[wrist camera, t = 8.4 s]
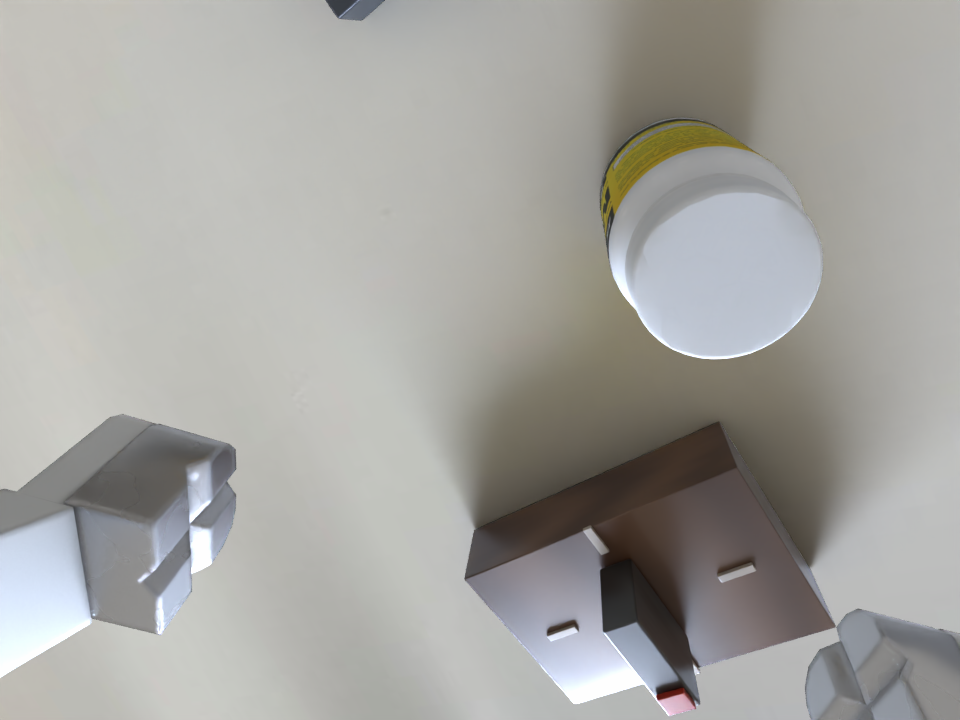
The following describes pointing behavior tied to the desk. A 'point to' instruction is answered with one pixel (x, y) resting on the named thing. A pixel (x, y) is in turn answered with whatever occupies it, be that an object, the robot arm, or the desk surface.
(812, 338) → the desk surface
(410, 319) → the desk surface
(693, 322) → the supplement bottle
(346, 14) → the button block
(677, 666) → the dial knob
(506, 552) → the dial panel
